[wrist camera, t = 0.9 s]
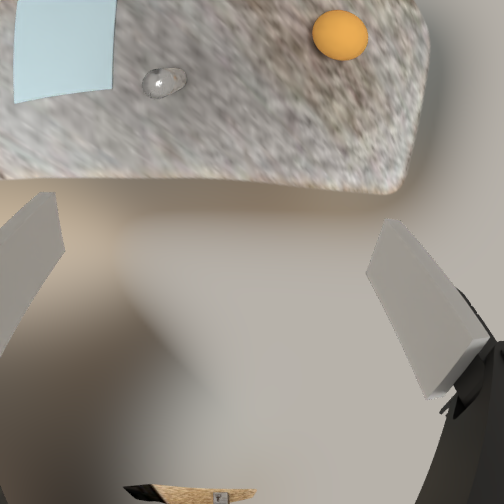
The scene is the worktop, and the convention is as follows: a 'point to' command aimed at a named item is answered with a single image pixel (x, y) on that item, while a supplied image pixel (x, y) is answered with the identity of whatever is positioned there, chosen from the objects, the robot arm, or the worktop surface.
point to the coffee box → (221, 498)
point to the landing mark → (62, 47)
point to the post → (163, 82)
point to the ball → (340, 35)
